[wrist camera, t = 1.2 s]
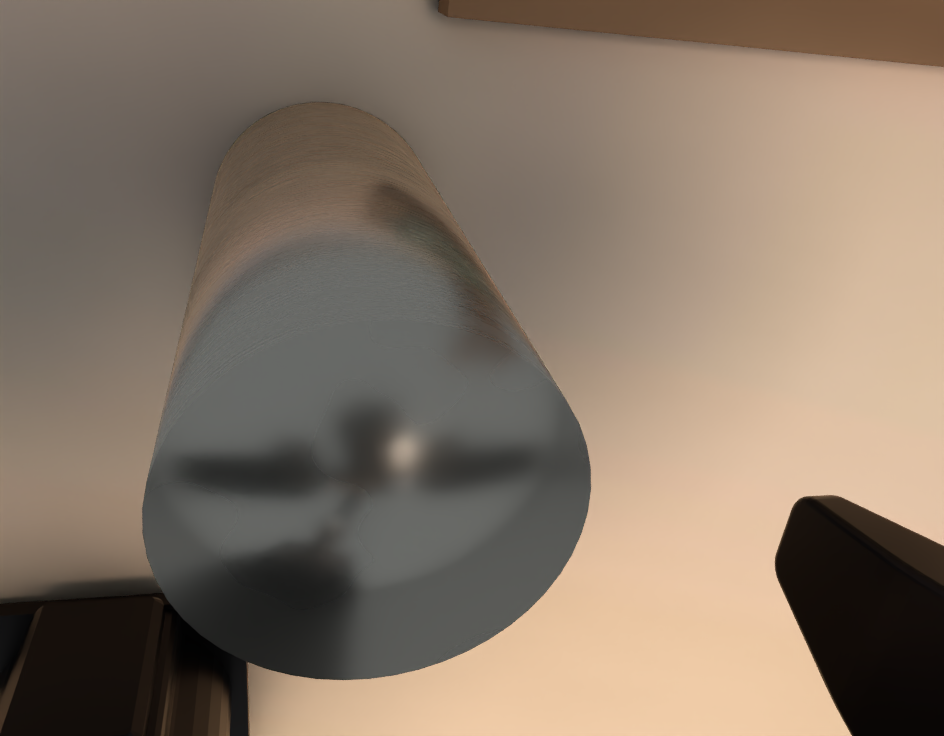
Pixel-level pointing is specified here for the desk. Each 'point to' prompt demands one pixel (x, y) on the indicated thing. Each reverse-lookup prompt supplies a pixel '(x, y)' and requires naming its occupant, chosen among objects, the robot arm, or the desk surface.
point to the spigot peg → (353, 418)
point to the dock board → (743, 23)
